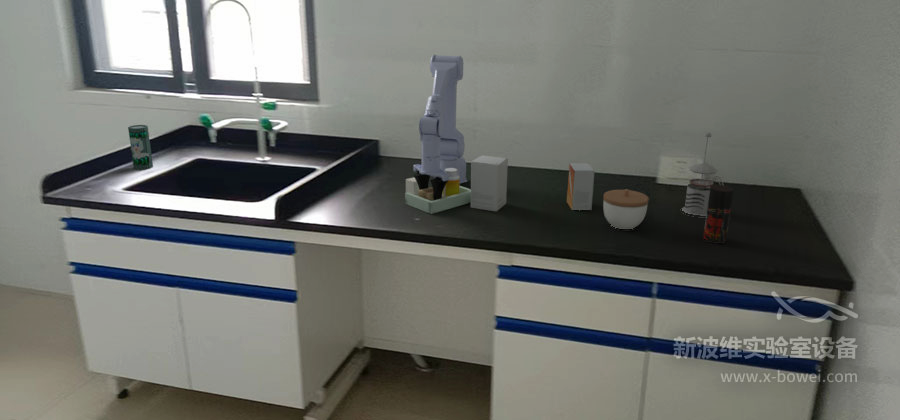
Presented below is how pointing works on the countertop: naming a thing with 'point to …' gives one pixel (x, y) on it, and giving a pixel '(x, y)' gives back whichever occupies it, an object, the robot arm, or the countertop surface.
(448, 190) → the supplement bottle
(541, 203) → the countertop surface
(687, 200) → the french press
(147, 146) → the can
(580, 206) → the small box
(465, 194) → the tray
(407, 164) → the countertop surface
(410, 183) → the cream box
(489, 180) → the supplement box
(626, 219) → the lidded bowl
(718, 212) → the deodorant
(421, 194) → the oak block
